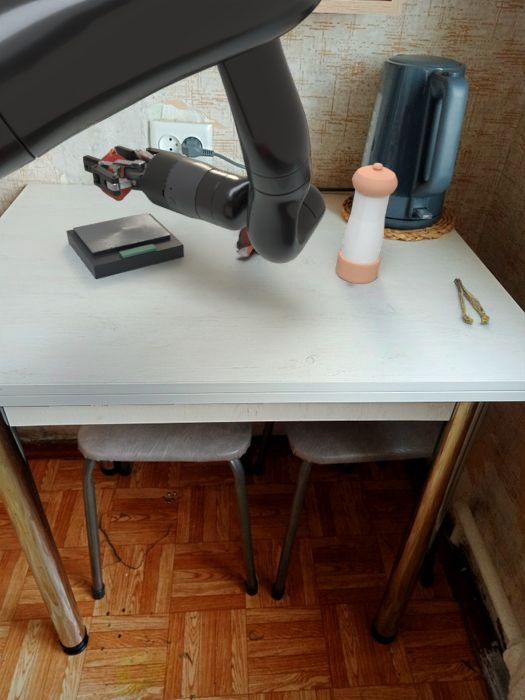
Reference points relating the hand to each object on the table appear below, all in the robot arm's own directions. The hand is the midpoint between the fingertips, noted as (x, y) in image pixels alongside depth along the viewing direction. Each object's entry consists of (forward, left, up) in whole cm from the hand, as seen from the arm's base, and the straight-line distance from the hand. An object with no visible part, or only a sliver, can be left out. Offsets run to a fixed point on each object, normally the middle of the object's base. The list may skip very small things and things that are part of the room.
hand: (101, 157), depth 77 cm
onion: (+1, -2, -6) cm, 7 cm away
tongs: (+45, -39, -18) cm, 62 cm away
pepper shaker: (+35, -23, -18) cm, 46 cm away
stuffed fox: (+23, -7, -18) cm, 30 cm away
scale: (+3, +3, -18) cm, 18 cm away
